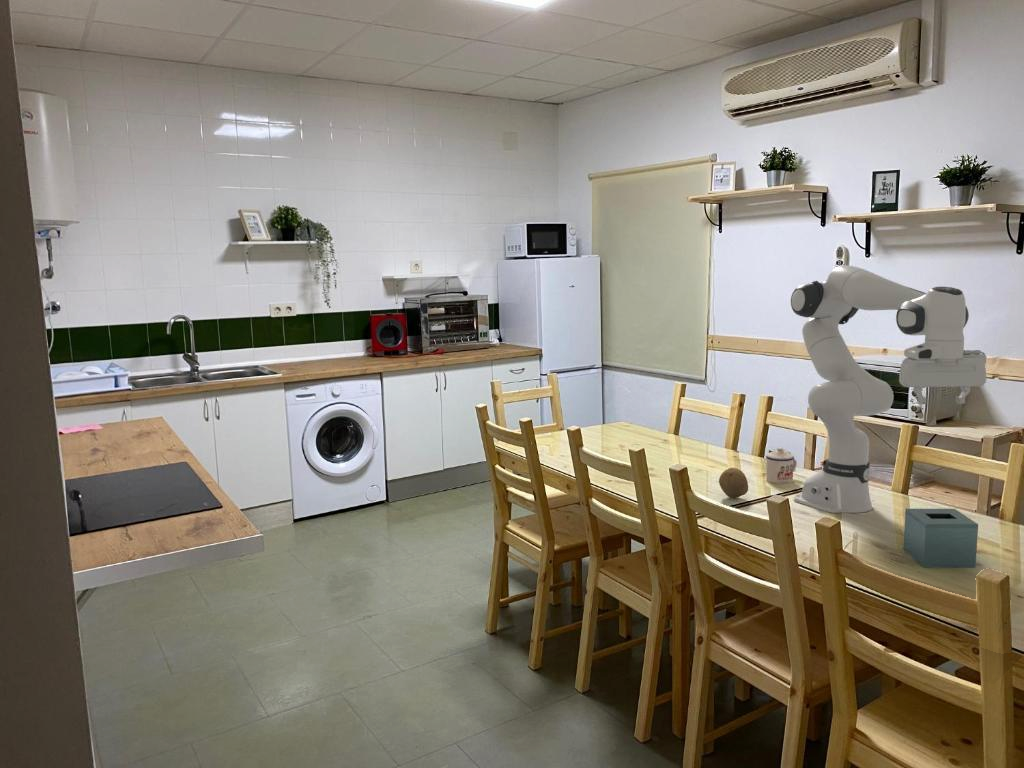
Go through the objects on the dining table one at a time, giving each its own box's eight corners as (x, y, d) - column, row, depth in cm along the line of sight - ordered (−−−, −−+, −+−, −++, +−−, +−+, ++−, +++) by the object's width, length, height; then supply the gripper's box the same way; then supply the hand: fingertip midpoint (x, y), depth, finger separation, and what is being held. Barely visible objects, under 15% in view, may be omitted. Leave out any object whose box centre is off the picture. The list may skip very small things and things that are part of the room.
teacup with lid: (779, 486, 257) (780, 452, 255) (759, 479, 265) (760, 447, 263) (805, 480, 262) (806, 447, 260) (785, 474, 270) (786, 442, 268)
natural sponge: (717, 493, 250) (717, 464, 249) (745, 494, 249) (746, 464, 247) (720, 501, 242) (720, 471, 240) (749, 502, 240) (749, 471, 239)
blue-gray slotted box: (923, 567, 186) (925, 524, 184) (903, 549, 198) (905, 508, 196) (975, 567, 184) (978, 524, 183) (952, 549, 196) (954, 508, 195)
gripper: (980, 348, 198) (977, 401, 200) (897, 350, 200) (895, 402, 202) (993, 351, 191) (989, 405, 193) (907, 352, 193) (905, 406, 195)
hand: (941, 403), depth 198 cm, fingers open, 8 cm apart
